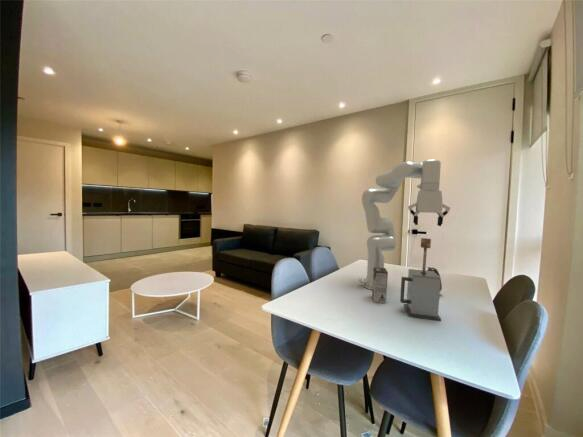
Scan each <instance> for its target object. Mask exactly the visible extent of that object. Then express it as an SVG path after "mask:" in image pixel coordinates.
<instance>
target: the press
mask: <svg viewBox="0 0 583 437" xmlns="http://www.w3.org/2000/svg"><path fill="white" fill-rule="evenodd" d="M422 270H423V269H415V268H414V269H413V268H408V272H407V274H408V275H407V276H401V282H400V298H399V299H400V300H399V302H400V303H401V304H403V308H404V309H405V311H406V314H407V316H408V318H413V319H414V318H415V319H421V320H422V319H423V320H430V321H437V322H438V321H439V322H441V321H442V319H441V317H440V315H439V306H440V293H441V292H440V280H441V281H442V279H441V276H440V277H439V276H438V275H437V274H436V273H435V272H434V271H427V270H426V269H425V274H422ZM406 282H407V291H406V298H405V289H406V288H405V286H406V285H405V284H406Z"/></svg>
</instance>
